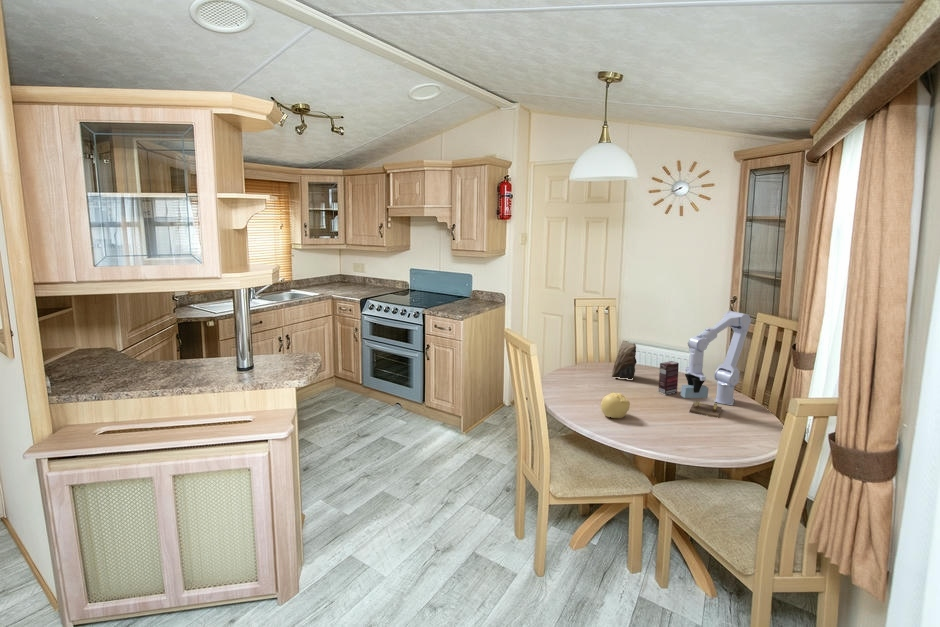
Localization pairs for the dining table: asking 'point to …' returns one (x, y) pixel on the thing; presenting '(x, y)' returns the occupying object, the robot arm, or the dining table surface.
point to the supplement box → (668, 377)
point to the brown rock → (625, 361)
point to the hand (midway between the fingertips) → (693, 390)
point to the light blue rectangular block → (688, 392)
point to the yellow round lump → (615, 405)
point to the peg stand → (705, 409)
